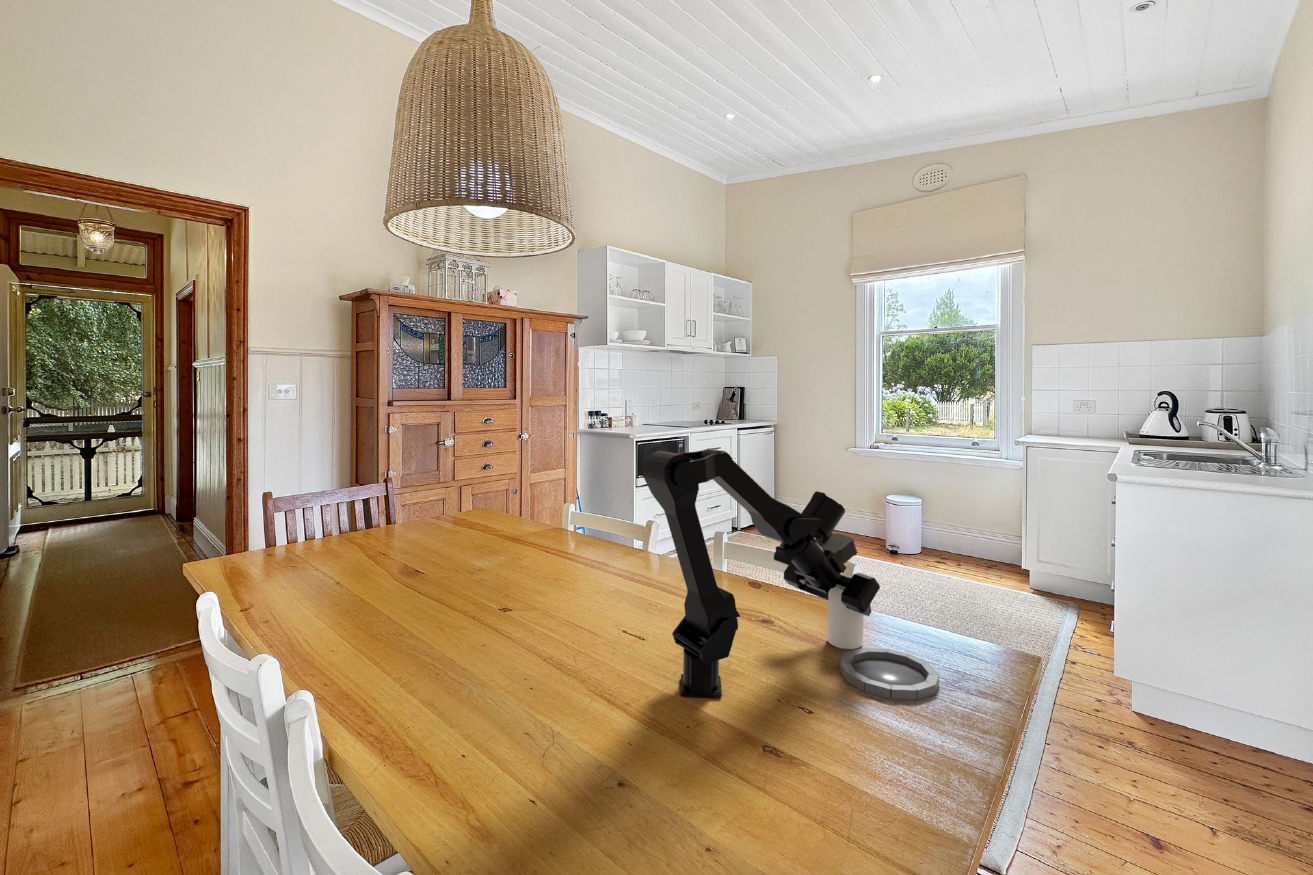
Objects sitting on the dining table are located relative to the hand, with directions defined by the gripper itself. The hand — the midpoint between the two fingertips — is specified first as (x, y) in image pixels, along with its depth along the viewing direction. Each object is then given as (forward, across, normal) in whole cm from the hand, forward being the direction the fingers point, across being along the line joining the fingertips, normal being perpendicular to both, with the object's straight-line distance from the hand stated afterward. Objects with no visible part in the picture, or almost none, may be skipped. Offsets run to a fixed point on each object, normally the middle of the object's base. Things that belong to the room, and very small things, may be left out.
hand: (849, 605), depth 114 cm
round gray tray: (+1, -13, +9) cm, 16 cm away
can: (+4, 0, +6) cm, 7 cm away
